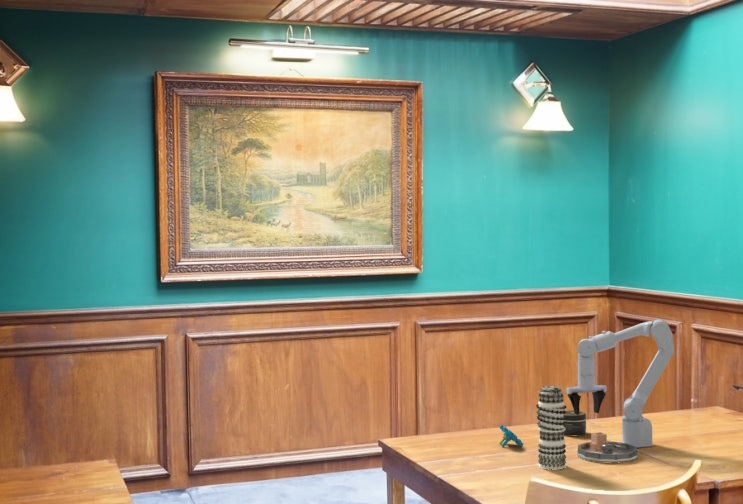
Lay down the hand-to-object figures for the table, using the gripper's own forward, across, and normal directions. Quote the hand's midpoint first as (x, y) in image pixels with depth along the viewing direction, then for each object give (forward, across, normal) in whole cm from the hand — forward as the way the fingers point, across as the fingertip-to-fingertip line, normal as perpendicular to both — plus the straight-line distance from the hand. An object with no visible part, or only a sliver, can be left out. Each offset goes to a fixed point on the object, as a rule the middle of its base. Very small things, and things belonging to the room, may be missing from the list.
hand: (586, 413), depth 324 cm
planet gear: (+9, +3, +13) cm, 16 cm away
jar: (+11, -3, -16) cm, 19 cm away
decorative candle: (+11, +26, +24) cm, 37 cm away
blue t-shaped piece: (+11, +26, -6) cm, 29 cm away
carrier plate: (+10, +3, +18) cm, 21 cm away
